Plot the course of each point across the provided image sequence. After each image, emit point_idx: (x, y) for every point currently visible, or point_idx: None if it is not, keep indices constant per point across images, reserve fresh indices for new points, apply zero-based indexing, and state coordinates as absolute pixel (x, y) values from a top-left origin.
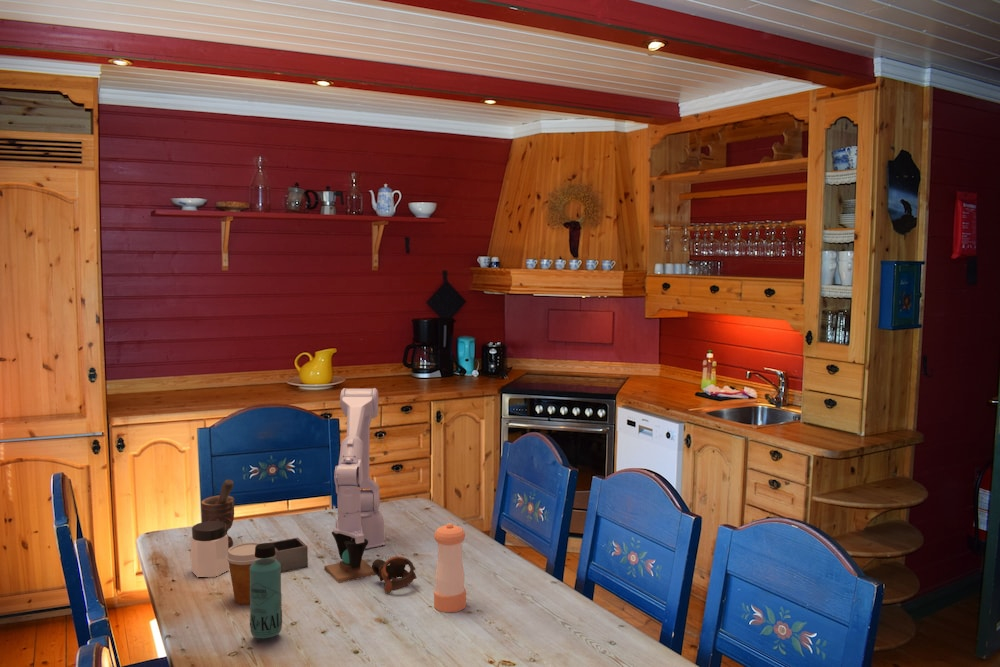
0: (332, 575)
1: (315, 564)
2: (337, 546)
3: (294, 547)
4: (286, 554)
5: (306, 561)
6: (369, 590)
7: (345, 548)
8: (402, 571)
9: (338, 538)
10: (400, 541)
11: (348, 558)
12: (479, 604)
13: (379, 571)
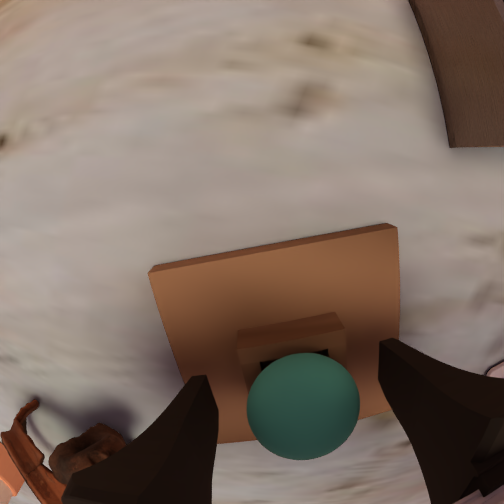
0: (249, 250)
1: (466, 194)
2: (444, 365)
3: None
4: (476, 7)
5: (469, 139)
6: (55, 365)
7: (406, 403)
8: None
9: (459, 422)
10: None
11: (251, 400)
12: None
13: (57, 446)
